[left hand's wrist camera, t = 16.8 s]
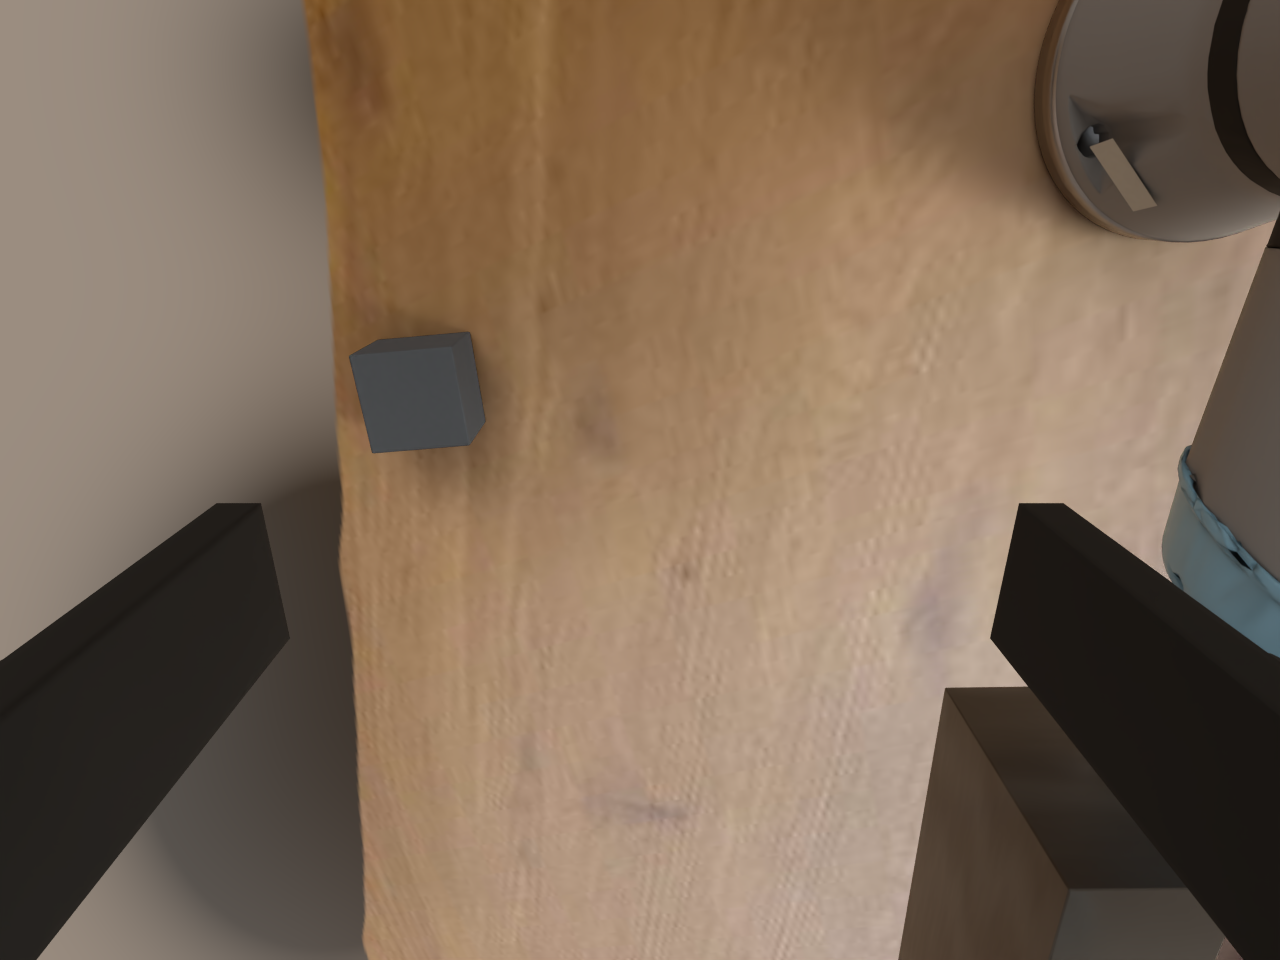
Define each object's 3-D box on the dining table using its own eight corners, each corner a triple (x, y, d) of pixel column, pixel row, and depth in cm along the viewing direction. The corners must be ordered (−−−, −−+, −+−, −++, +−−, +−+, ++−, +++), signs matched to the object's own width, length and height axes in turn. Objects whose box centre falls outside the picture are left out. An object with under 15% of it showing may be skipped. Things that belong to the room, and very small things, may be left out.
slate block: (376, 339, 38) (347, 355, 34) (470, 331, 38) (451, 346, 34) (396, 429, 40) (371, 453, 36) (486, 422, 40) (470, 445, 36)
